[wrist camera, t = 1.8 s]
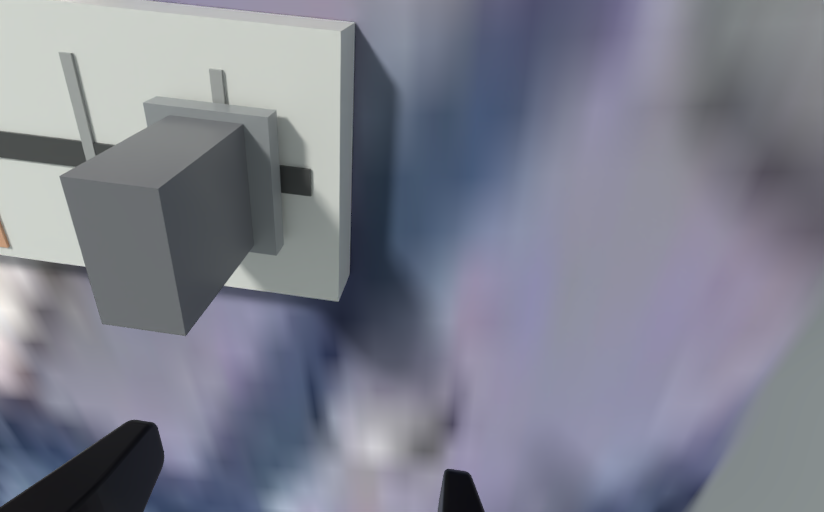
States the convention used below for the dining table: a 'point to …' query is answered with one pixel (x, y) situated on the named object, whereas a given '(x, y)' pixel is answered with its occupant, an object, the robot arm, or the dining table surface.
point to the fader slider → (176, 210)
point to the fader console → (183, 79)
